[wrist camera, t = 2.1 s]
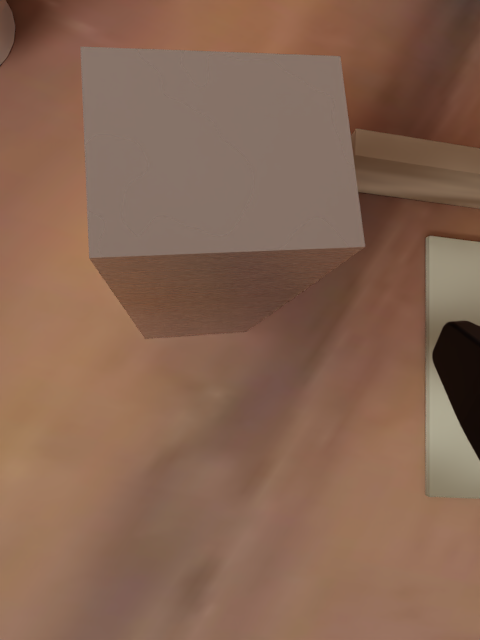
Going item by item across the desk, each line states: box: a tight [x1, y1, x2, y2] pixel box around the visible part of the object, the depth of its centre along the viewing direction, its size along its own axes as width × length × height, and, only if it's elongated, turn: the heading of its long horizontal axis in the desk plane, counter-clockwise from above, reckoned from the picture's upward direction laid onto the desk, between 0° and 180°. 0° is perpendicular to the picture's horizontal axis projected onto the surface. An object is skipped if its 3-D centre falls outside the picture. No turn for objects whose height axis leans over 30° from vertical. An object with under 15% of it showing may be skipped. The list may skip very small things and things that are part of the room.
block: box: [81, 47, 365, 339], centre depth 13 cm, size 8×4×12 cm, turn 5°
